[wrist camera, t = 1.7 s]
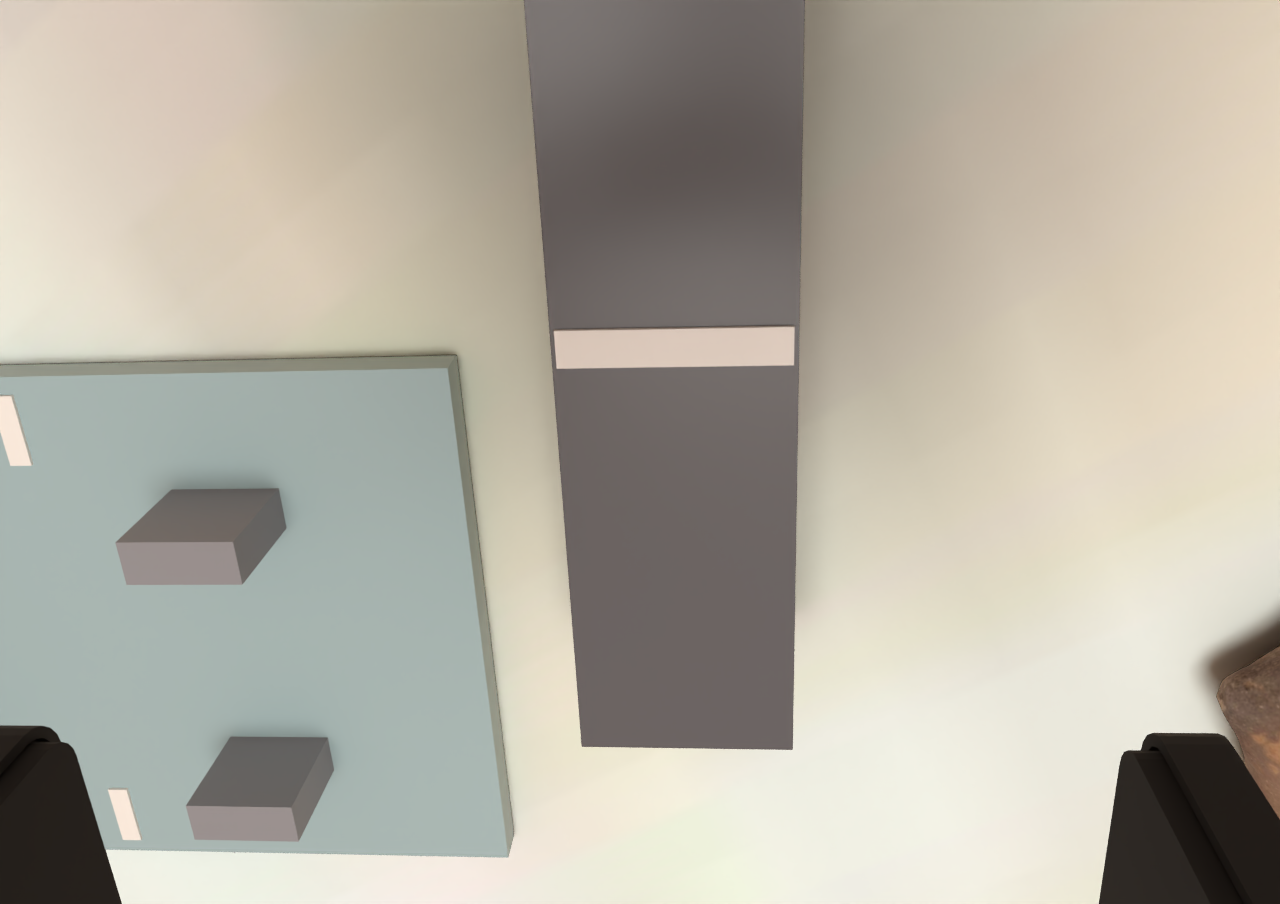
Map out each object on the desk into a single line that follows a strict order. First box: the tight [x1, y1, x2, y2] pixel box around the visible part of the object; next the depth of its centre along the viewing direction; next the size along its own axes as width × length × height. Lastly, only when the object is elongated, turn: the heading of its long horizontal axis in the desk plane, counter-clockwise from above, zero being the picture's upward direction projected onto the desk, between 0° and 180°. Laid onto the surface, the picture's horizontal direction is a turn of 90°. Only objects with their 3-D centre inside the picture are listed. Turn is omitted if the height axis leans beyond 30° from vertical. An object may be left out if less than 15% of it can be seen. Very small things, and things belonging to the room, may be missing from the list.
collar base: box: [0, 355, 514, 857], centre depth 32 cm, size 16×24×4 cm, turn 93°
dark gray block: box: [524, 0, 805, 750], centre depth 25 cm, size 20×5×6 cm, turn 2°
